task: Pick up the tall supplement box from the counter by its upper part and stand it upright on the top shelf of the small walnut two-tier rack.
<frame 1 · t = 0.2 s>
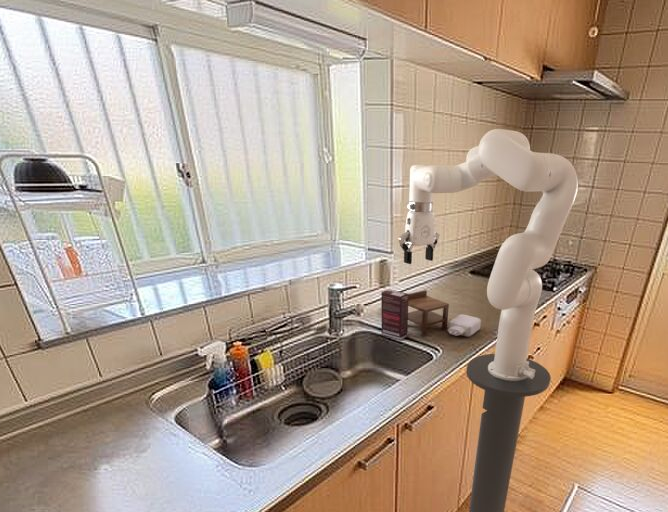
hand: (418, 261, 141), 26 cm above the counter, tool pointing down, fingers open, 9 cm apart
charger: (460, 334, 156), on the counter
shelf rack: (423, 327, 159), on the counter
supplement box: (394, 335, 151), on the counter
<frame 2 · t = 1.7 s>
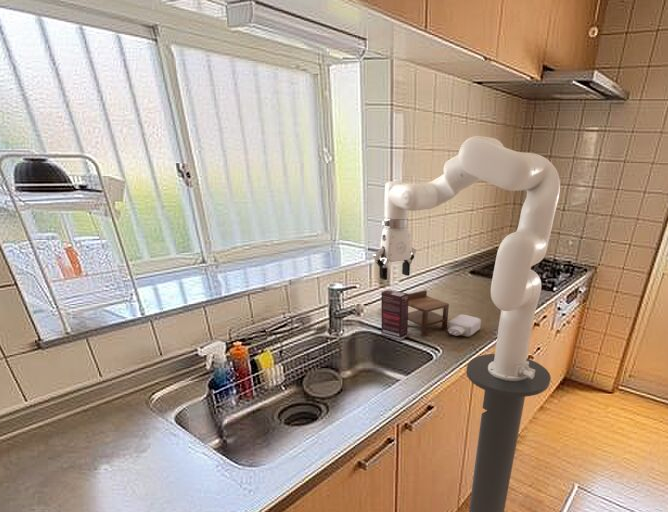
hand: (394, 276, 141), 21 cm above the counter, tool pointing down, fingers open, 9 cm apart
nothing on the counter moved.
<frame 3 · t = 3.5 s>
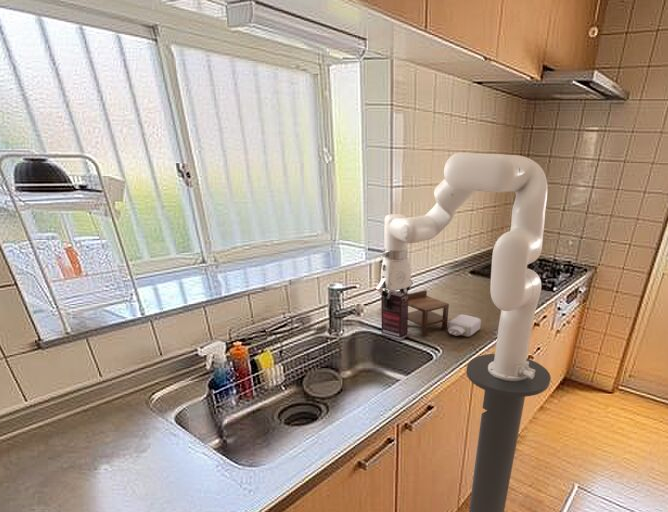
hand: (394, 306, 146), 11 cm above the counter, tool pointing down, fingers closed on supplement box, 5 cm apart
supplement box: (394, 335, 151), on the counter, touching gripper
everything else where it was.
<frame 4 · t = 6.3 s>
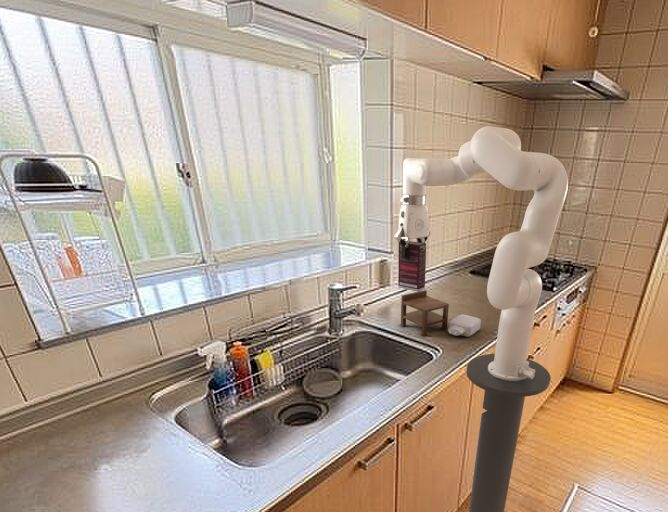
hand: (412, 257, 143), 27 cm above the counter, tool pointing down, fingers closed on supplement box, 5 cm apart
supplement box: (411, 289, 148), point 16 cm above the counter, touching gripper
everything else where it was.
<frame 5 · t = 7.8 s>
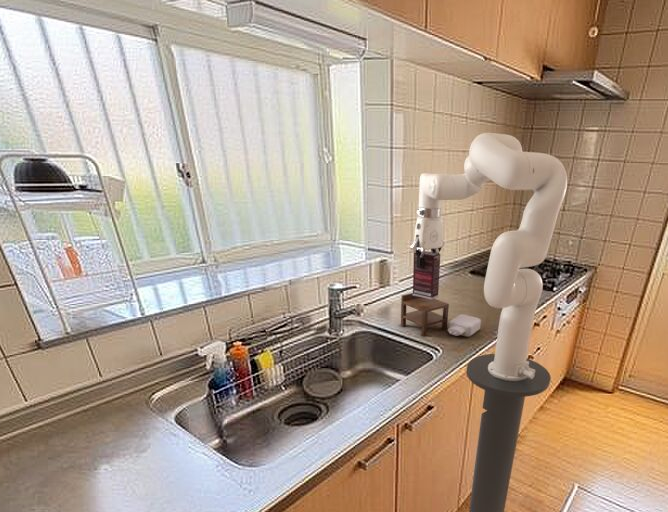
hand: (426, 266, 149), 23 cm above the counter, tool pointing down, fingers closed on supplement box, 5 cm apart
supplement box: (425, 296, 154), point 12 cm above the counter, touching gripper
everything else where it was.
when the fingers open (21 cm above the counter, at t = 8.9 s): supplement box stays where it is, resting on shelf rack.
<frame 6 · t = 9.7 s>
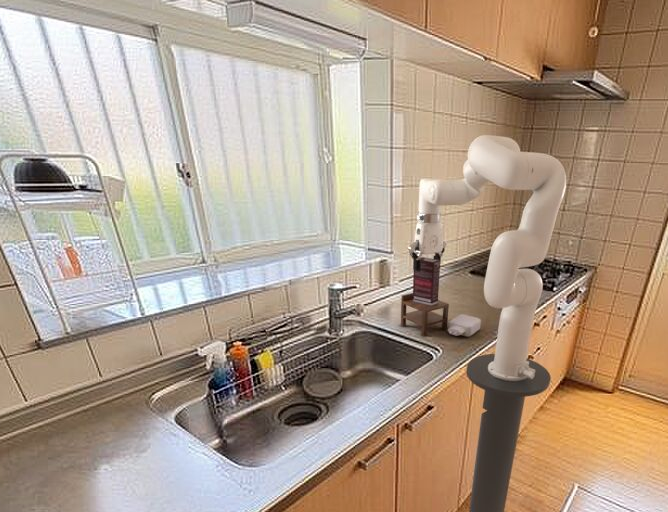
hand: (426, 269, 149), 22 cm above the counter, tool pointing down, fingers open, 9 cm apart
supplement box: (425, 302, 155), point 10 cm above the counter, touching shelf rack
everything else where it was.
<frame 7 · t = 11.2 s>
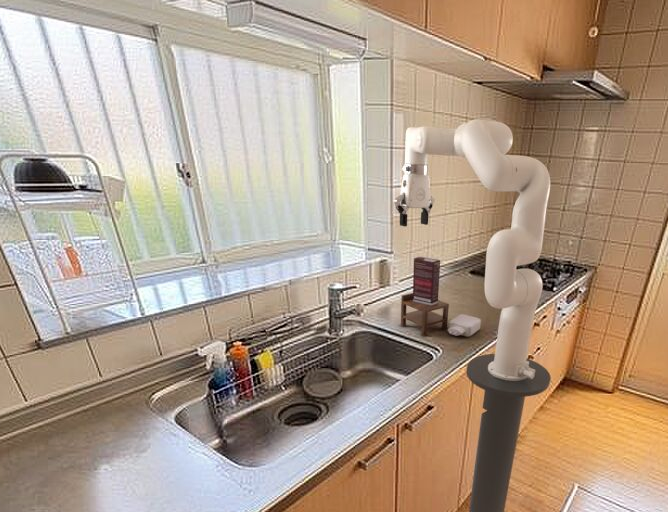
hand: (414, 225, 145), 37 cm above the counter, tool pointing down, fingers open, 9 cm apart
nothing on the counter moved.
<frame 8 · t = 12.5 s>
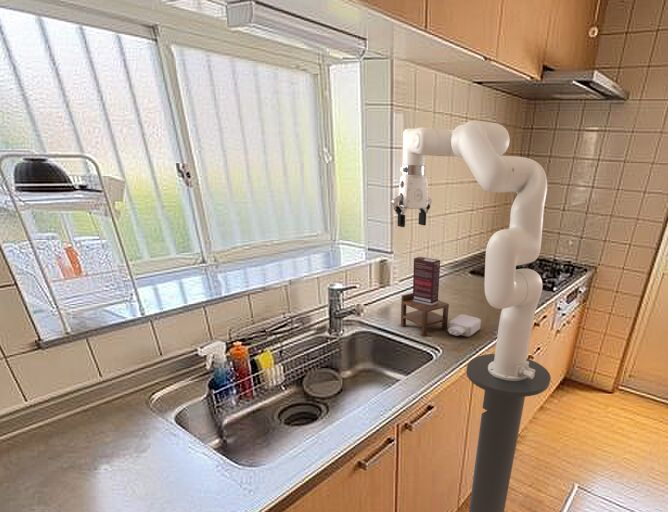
hand: (411, 225, 146), 36 cm above the counter, tool pointing down, fingers open, 9 cm apart
nothing on the counter moved.
at the end: supplement box 0.1 cm off-centre on the shelf rack, point 9.8 cm above the shelf rack's base; supplement box tilted 0° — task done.
